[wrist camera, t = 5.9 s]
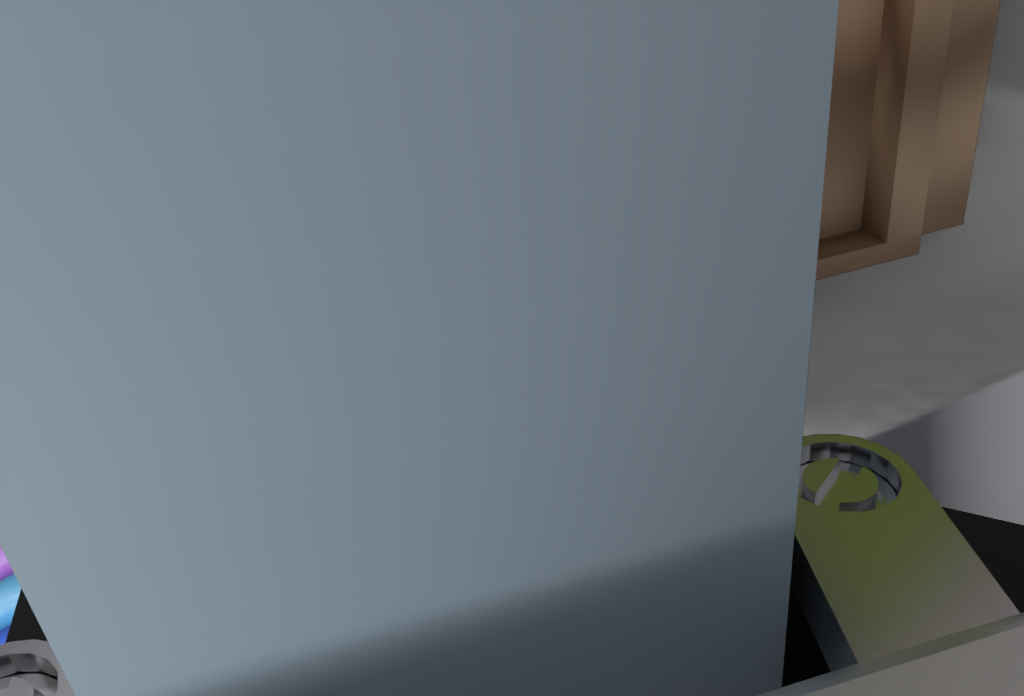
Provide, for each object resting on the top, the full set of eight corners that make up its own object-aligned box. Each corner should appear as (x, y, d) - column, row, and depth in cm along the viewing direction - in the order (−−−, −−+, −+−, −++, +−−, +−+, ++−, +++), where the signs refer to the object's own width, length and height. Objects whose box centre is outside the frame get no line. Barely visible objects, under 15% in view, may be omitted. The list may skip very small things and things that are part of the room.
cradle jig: (547, -159, 25) (579, -162, 23) (1012, -218, 28) (1077, -225, 26) (582, 306, 32) (608, 335, 30) (945, 216, 36) (991, 237, 34)
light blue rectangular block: (43, -80, 9) (-287, -26, 3) (485, -129, 9) (854, -157, 4) (302, 724, 14) (350, 1245, 9) (559, 647, 15) (749, 1074, 10)
